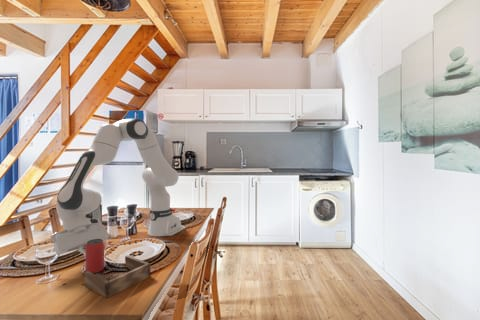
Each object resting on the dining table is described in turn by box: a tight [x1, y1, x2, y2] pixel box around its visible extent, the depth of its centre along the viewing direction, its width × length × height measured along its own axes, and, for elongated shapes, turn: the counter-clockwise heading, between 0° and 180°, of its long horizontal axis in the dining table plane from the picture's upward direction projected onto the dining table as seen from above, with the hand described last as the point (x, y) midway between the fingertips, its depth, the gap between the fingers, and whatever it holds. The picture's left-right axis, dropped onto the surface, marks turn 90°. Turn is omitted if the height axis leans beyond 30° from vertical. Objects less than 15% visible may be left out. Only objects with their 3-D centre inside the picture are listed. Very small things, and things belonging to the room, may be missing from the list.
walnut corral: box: [84, 255, 151, 299], centre depth 96 cm, size 17×14×5 cm
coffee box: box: [85, 203, 103, 225], centre depth 153 cm, size 9×6×16 cm
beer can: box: [84, 239, 105, 274], centre depth 104 cm, size 7×7×12 cm
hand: (89, 255), depth 106 cm, fingers closed, pressing on beer can
